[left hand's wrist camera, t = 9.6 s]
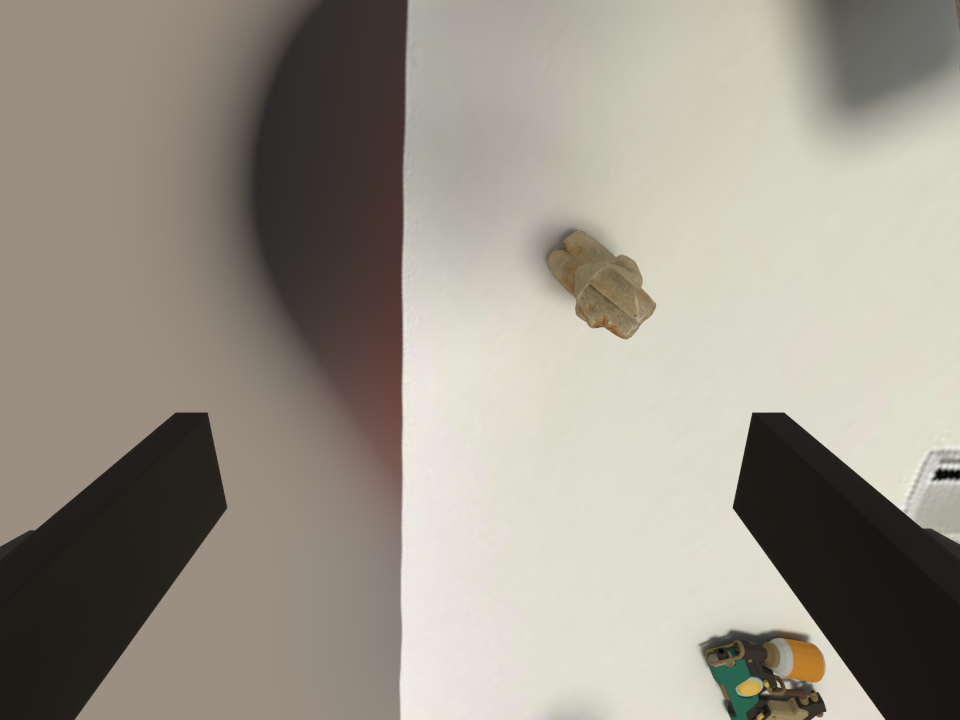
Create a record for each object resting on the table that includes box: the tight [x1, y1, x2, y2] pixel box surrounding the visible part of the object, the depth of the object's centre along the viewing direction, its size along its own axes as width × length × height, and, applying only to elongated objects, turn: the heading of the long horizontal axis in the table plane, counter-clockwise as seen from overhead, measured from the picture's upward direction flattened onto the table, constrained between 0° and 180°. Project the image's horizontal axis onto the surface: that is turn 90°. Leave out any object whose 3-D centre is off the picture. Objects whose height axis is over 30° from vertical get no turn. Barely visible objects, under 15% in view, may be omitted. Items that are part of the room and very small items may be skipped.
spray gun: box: [705, 638, 826, 720], centre depth 66 cm, size 4×17×15 cm
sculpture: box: [547, 231, 656, 339], centre depth 42 cm, size 6×7×15 cm
